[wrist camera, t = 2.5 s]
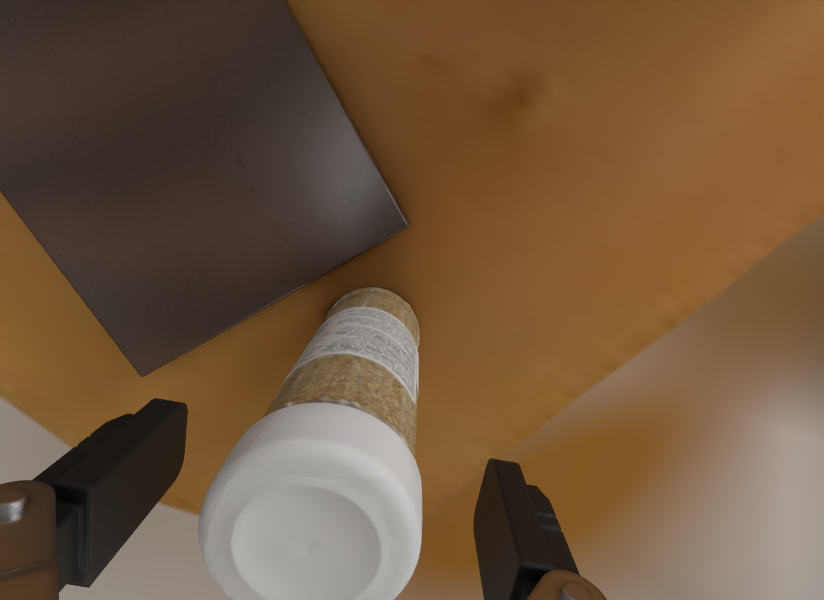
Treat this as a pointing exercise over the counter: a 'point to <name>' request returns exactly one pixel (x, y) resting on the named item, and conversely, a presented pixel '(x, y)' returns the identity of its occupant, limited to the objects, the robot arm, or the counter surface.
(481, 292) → the counter surface
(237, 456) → the sprinkles bottle
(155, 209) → the walnut board
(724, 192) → the counter surface
